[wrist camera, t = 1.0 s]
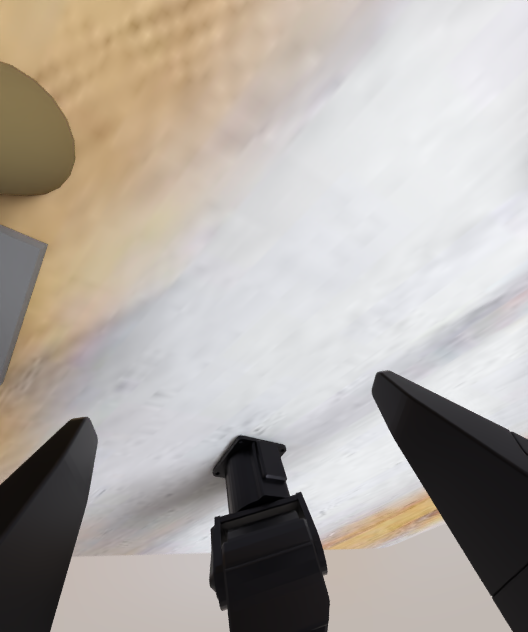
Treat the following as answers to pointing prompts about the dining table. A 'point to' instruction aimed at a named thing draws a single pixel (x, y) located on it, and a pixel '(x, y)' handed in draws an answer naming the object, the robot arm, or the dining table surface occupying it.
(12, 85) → the cork
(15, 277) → the charcoal mat
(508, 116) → the dining table surface
